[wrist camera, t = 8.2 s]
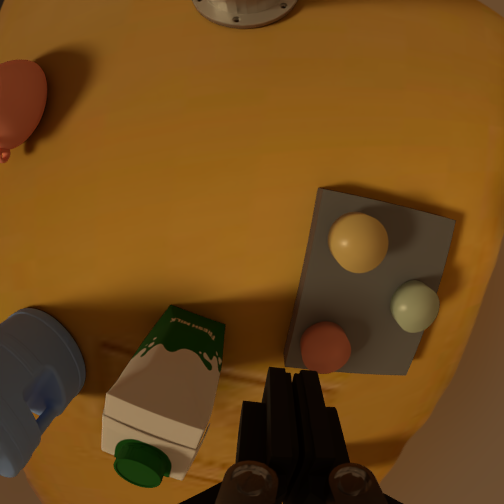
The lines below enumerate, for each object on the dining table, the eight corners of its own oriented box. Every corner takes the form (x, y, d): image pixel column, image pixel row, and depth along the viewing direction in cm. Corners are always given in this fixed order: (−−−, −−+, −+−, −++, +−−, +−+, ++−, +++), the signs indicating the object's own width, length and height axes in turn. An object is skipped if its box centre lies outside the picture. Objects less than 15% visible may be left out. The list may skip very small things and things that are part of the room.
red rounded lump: (303, 308, 36) (308, 328, 31) (346, 314, 36) (357, 334, 31) (293, 347, 37) (297, 371, 32) (334, 352, 37) (343, 375, 32)
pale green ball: (389, 270, 34) (406, 284, 29) (425, 276, 34) (445, 290, 29) (377, 311, 35) (391, 330, 31) (413, 315, 35) (430, 334, 31)
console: (318, 187, 33) (323, 189, 30) (442, 216, 33) (455, 220, 30) (283, 353, 38) (284, 366, 35) (398, 363, 38) (405, 375, 35)
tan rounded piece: (328, 204, 31) (339, 209, 26) (375, 213, 31) (393, 221, 26) (318, 254, 32) (327, 268, 28) (365, 262, 32) (380, 276, 28)
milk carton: (150, 353, 39) (86, 466, 19) (165, 293, 37) (86, 399, 17) (214, 376, 39) (184, 503, 20) (236, 319, 37) (211, 448, 18)
